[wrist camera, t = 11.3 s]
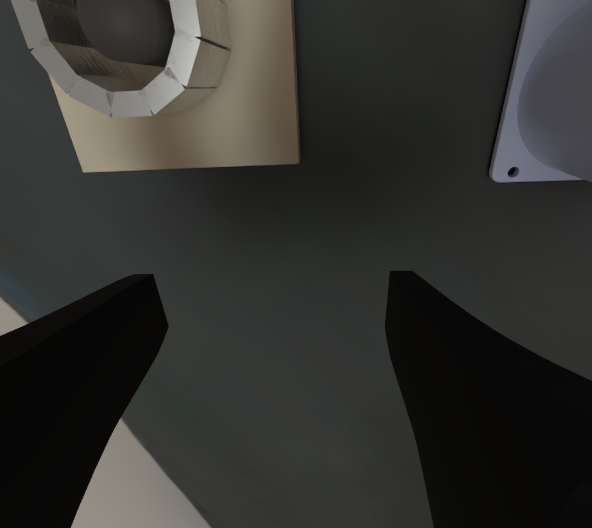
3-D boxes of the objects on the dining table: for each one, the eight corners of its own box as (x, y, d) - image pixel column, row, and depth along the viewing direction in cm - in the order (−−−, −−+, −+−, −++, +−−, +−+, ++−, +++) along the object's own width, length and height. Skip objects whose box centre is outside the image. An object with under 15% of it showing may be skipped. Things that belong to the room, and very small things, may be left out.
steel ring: (217, -69, 12) (175, -132, 9) (238, 106, 15) (212, 112, 11) (69, -54, 13) (-29, -108, 9) (115, 113, 15) (54, 120, 12)
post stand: (286, -155, 12) (266, -294, 8) (300, 157, 17) (293, 182, 13) (7, -121, 13) (-155, -228, 9) (100, 166, 18) (29, 191, 14)
